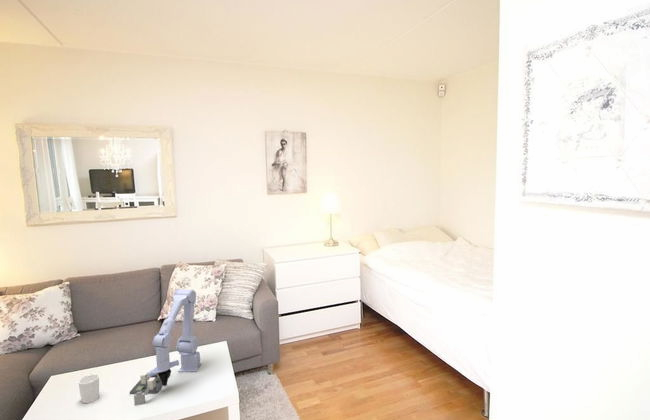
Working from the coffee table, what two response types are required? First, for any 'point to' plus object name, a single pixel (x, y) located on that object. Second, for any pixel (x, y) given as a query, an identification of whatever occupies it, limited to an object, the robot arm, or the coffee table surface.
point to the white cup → (89, 388)
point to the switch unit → (142, 387)
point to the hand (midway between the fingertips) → (164, 384)
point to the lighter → (141, 396)
